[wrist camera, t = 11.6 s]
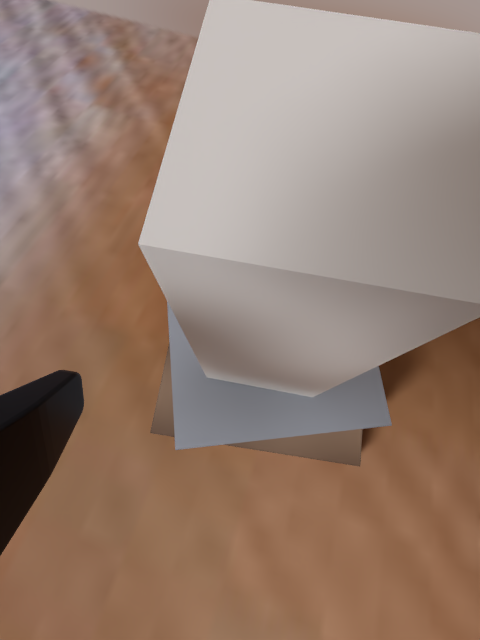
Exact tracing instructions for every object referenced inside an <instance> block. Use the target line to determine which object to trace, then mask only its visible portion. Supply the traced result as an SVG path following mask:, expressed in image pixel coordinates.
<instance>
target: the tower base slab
mask: <svg viewBox="0 0 480 640" xmlns="http://www.w3.org/2000/svg"><path fill="white" fill-rule="evenodd" d="M150 433H153V434H160V435H166V436H172V437H175V432H174V414H173V396H172V378H171V359H170V342H169V347H168V351H167V356H166V361H165V366H164V370H163V375H162V380H161V384H160V389H159V394H158V399H157V403H156V408H155V413H154V418H153V422H152V427H151V432H150ZM361 443H362V429H355V430H347V431H338V432H329V433H320V434H311V435H303V436H294V437H285V438H276V439H267V440H259V441H250V442H241V443H232V444H223V445H229V446H235V447H241V448H248V449H254V450H260V451H266V452H273V453H279V454H285V455H292V456H298V457H304V458H310V459H317V460H323V461H329V462H335V463H342V464H348V465H354V466H360V462H361Z"/></svg>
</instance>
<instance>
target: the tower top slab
mask: <svg viewBox="0 0 480 640" xmlns="http://www.w3.org/2000/svg"><path fill="white" fill-rule="evenodd" d="M167 304H168V323H169V341H170V359H171V378H172V396H173V414H174V432H175V450H179V449H188V448H197V447H206V446H215V445H223V444H232V443H241V442H250V441H259V440H267V439H276V438H285V437H294V436H303V435H311V434H320V433H329V432H338V431H347V430H355V429H364V428H373V427H382V426H391V425H392V424H391V420H390V415H389V411H388V406H387V401H386V397H385V392H384V388H383V383H382V379H381V374H380V369H379V366H377V367H375V368H373V369H371V370H369V371H367V372H364V373H362V374H360V375H358V376H356V377H354V378H352V379H350V380H348V381H346V382H344V383H342V384H339V385H337V386H335V387H333V388H331V389H329V390H327V391H325V392H323V393H321V394H319V395H317V396H314V397H308V396H302V395H297V394H292V393H287V392H281V391H276V390H271V389H265V388H260V387H255V386H249V385H244V384H239V383H234V382H228V381H223V380H218V379H212V378H207V377H206V375H205V373H204V371H203V369H202V367H201V365H200V363H199V362H198V360H197V358H196V356H195V354H194V352H193V350H192V348H191V346H190V344H189V342H188V340H187V338H186V336H185V334H184V332H183V330H182V328H181V326H180V325H179V323H178V321H177V319H176V317H175V315H174V313H173V311H172V309H171V307H170V305H169V303H168V301H167Z"/></svg>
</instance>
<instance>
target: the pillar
mask: <svg viewBox="0 0 480 640" xmlns="http://www.w3.org/2000/svg"><path fill="white" fill-rule="evenodd" d="M138 245H139V247H140V249H141V251H142V252H143V254H144V256H145V258H146V260H147V262H148V264H149V266H150V268H151V270H152V272H153V274H154V276H155V278H156V280H157V282H158V284H159V286H160V288H161V289H162V291H163V293H164V295H165V297H166V299H167V301H168V303H169V305H170V307H171V309H172V311H173V313H174V315H175V317H176V319H177V321H178V323H179V325H180V326H181V328H182V330H183V332H184V334H185V336H186V338H187V340H188V342H189V344H190V346H191V348H192V350H193V352H194V354H195V356H196V358H197V360H198V362H199V363H200V365H201V367H202V369H203V371H204V373H205V375H206V377H207V378H212V379H218V380H223V381H228V382H234V383H239V384H244V385H249V386H255V387H260V388H265V389H271V390H276V391H281V392H287V393H292V394H297V395H302V396H308V397H314V396H317V395H319V394H321V393H323V392H325V391H327V390H329V389H331V388H333V387H335V386H337V385H339V384H342V383H344V382H346V381H348V380H350V379H352V378H354V377H356V376H358V375H360V374H362V373H364V372H367V371H369V370H371V369H373V368H375V367H377V366H379V365H381V364H383V363H385V362H387V361H390V360H392V359H394V358H396V357H398V356H400V355H402V354H404V353H406V352H408V351H410V350H412V349H415V348H417V347H419V346H421V345H423V344H425V343H427V342H429V341H431V340H433V339H435V338H437V337H440V336H442V335H444V334H446V333H448V332H450V331H452V330H454V329H456V328H458V327H460V326H462V325H465V324H467V323H469V322H471V321H473V320H475V319H477V318H479V317H480V33H474V32H467V31H460V30H454V29H447V28H440V27H433V26H426V25H419V24H412V23H405V22H398V21H391V20H384V19H377V18H370V17H364V16H356V15H349V14H343V13H336V12H329V11H322V10H315V9H308V8H301V7H294V6H287V5H281V4H274V3H267V2H260V1H253V0H210V1H209V4H208V8H207V11H206V15H205V18H204V21H203V25H202V28H201V31H200V35H199V38H198V42H197V45H196V49H195V52H194V55H193V59H192V62H191V66H190V69H189V72H188V76H187V79H186V83H185V86H184V89H183V93H182V96H181V100H180V103H179V107H178V110H177V113H176V117H175V120H174V124H173V127H172V130H171V134H170V137H169V141H168V144H167V147H166V151H165V154H164V158H163V161H162V164H161V168H160V171H159V175H158V178H157V182H156V185H155V188H154V192H153V195H152V199H151V202H150V205H149V209H148V212H147V216H146V219H145V222H144V226H143V229H142V233H141V236H140V240H139V243H138Z"/></svg>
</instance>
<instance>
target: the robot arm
mask: <svg viewBox="0 0 480 640" xmlns="http://www.w3.org/2000/svg"><path fill="white" fill-rule="evenodd" d="M83 407H84V398H83V388H82V379H81V376H80V374H79V373H77V372H73V371H67V370H58V371H56V372H54V373H51V374H49V375H47V376H44V377H42V378H40V379H37V380H35V381H33V382H30V383H28V384H26V385H23V386H21V387H19V388H16V389H14V390H12V391H9V392H7V393H5V394H2V395H0V555H1V554H2V552H3V551H4V549H5V548H6V546H7V544H8V543H9V541H10V540H11V538H12V536H13V535H14V533H15V532H16V530H17V528H18V527H19V525H20V524H21V522H22V521H23V519H24V517H25V516H26V514H27V513H28V511H29V509H30V508H31V506H32V505H33V503H34V501H35V500H36V498H37V497H38V495H39V494H40V492H41V490H42V489H43V487H44V486H45V484H46V482H47V481H48V479H49V477H50V476H51V474H52V472H53V470H54V468H55V466H56V464H57V462H58V460H59V458H60V456H61V454H62V452H63V450H64V448H65V446H66V444H67V442H68V440H69V438H70V436H71V434H72V432H73V430H74V428H75V425H76V423H77V421H78V419H79V417H80V415H81V413H82V411H83Z"/></svg>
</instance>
